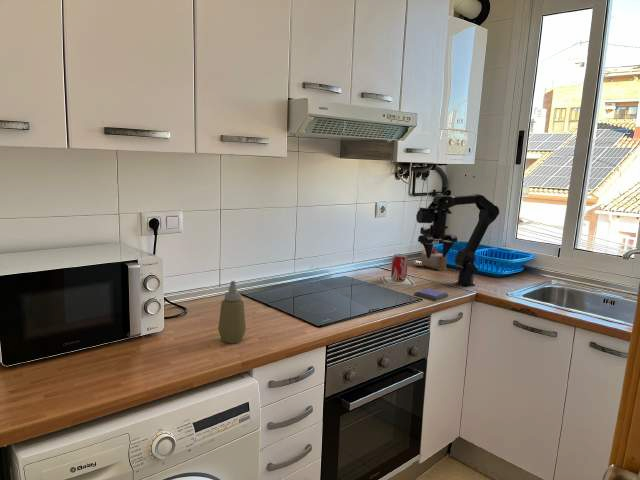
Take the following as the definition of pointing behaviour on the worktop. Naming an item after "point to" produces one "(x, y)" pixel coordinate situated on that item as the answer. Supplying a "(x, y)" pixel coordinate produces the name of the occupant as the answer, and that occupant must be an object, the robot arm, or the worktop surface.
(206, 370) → the worktop surface
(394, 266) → the soda can
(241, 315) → the squeeze bottle
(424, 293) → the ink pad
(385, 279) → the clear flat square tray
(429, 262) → the food item
